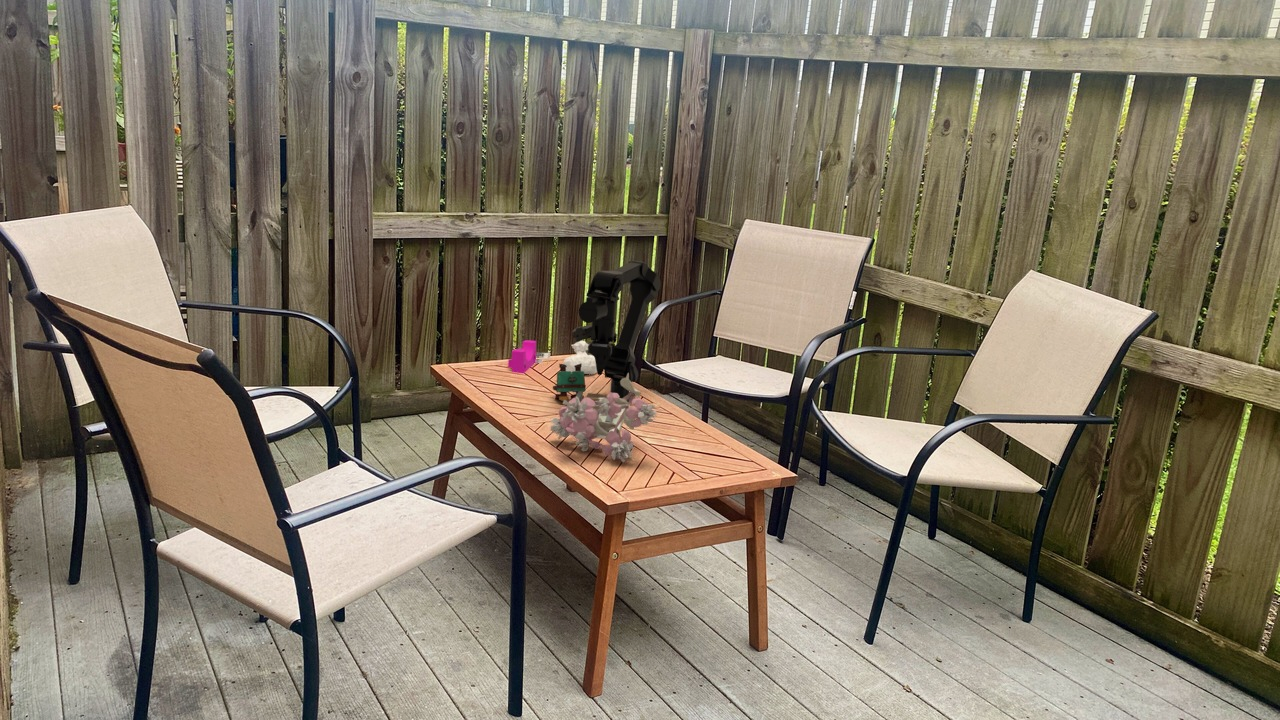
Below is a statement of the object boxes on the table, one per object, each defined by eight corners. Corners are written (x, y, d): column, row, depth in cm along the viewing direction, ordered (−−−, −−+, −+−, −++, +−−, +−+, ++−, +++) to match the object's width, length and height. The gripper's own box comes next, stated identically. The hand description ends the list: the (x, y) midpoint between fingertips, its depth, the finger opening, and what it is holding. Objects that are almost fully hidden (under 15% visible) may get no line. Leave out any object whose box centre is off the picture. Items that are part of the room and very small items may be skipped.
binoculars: (578, 365, 286) (587, 362, 276) (579, 401, 285) (589, 399, 275) (548, 366, 283) (556, 362, 274) (549, 402, 282) (558, 400, 273)
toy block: (517, 361, 318) (517, 339, 316) (536, 363, 317) (536, 341, 315) (504, 373, 303) (504, 350, 302) (523, 375, 303) (523, 351, 301)
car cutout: (548, 366, 315) (548, 352, 314) (527, 365, 315) (527, 352, 314) (550, 354, 330) (550, 341, 328) (530, 353, 329) (530, 341, 328)
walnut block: (587, 406, 270) (588, 392, 269) (605, 408, 270) (606, 394, 269) (584, 411, 265) (585, 397, 264) (603, 413, 265) (604, 399, 264)
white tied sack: (567, 380, 303) (569, 344, 301) (559, 373, 310) (561, 339, 307) (602, 378, 308) (605, 344, 305) (594, 372, 315) (596, 338, 312)
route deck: (569, 407, 275) (570, 390, 274) (625, 412, 275) (627, 395, 273) (555, 434, 251) (556, 415, 250) (617, 440, 250) (618, 422, 249)
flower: (671, 450, 248) (595, 497, 235) (616, 390, 257) (540, 432, 244) (689, 404, 233) (608, 452, 220) (630, 341, 241) (549, 383, 229)
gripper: (580, 308, 278) (576, 361, 282) (571, 321, 260) (567, 377, 264) (618, 312, 278) (614, 365, 282) (612, 325, 260) (608, 381, 264)
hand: (600, 372), depth 273 cm, fingers open, 6 cm apart
